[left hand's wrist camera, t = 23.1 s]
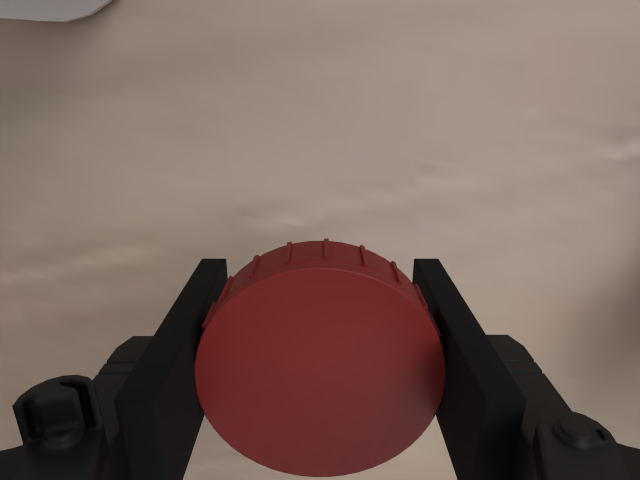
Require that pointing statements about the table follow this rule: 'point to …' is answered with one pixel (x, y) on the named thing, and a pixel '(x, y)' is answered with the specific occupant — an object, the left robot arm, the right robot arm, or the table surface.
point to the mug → (50, 9)
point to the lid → (320, 360)
